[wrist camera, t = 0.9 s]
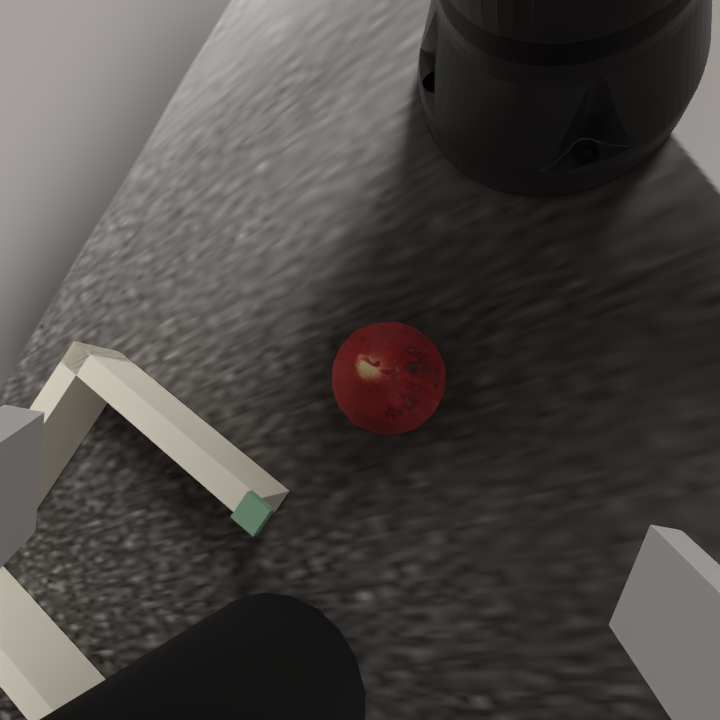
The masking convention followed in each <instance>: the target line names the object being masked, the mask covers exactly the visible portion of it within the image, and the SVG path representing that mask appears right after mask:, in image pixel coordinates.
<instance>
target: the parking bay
mask: <svg viewBox="0 0 720 720" xmlns="http://www.w3.org/2000/svg"><path fill="white" fill-rule="evenodd" d="M107 403H109V404H110V405H111V406H112V407H113V408H114V409H116V410H117V411H118V412H119V413H120V414H121V415H123V416H124V417H125V418H126V419H127V420H128V421H129V422H131V423H132V424H133V425H134V426H135V427H136V428H137V429H139V430H140V431H141V432H142V433H143V434H144V435H146V436H147V437H148V438H149V439H150V440H151V441H152V442H154V443H155V444H156V445H157V446H158V447H159V448H160V449H162V450H163V451H164V452H165V453H166V454H167V455H168V456H170V457H171V458H172V459H173V460H174V461H175V462H177V463H178V464H179V465H180V466H181V467H182V468H183V469H185V470H186V471H187V472H188V473H189V474H190V475H191V476H193V477H194V478H195V479H196V480H197V481H198V482H200V483H201V484H202V485H203V486H204V487H205V488H206V489H208V490H209V491H210V492H211V493H212V494H213V495H214V496H216V497H217V498H218V499H219V500H220V501H221V502H223V503H224V504H225V505H226V506H227V507H228V508H229V509H231V510H232V511H233V514H232V515H231V518H232V519H233V520H234V521H235V522H237V523H238V524H239V525H240V526H241V527H242V528H243V529H245V530H246V531H247V532H248V533H249V534H250V535H251V536H256V535H258V534H259V532H260V531H261V529H262V528H263V526H264V525H265V523H266V522H267V521H268V519H269V518H270V516H271V515H272V513H273V512H276V510H277V509H278V507H279V506H280V504H281V503H282V501H283V500H284V498H285V497H286V495H287V494H288V493H289V490H288V489H286V488H285V487H284V486H283V485H282V484H280V483H279V482H278V481H277V480H275V479H274V478H273V477H272V476H271V475H269V474H268V473H267V472H266V471H264V470H263V469H262V468H261V467H260V466H258V465H257V464H256V463H255V462H253V461H252V460H251V459H250V458H249V457H247V456H246V455H245V454H244V453H242V452H241V451H240V450H239V449H238V448H236V447H235V446H234V445H233V444H231V443H230V442H229V441H228V440H227V439H225V438H224V437H223V436H222V435H221V434H219V433H218V432H217V431H216V430H214V429H213V428H212V427H211V426H210V425H208V424H207V423H206V422H205V421H203V420H202V419H201V418H200V417H199V416H197V415H196V414H195V413H194V412H192V411H191V410H190V409H189V408H188V407H186V406H185V405H184V404H183V403H181V402H180V401H179V400H178V399H177V398H175V397H174V396H173V395H172V394H170V393H169V392H168V391H167V390H166V389H164V388H163V387H162V386H161V385H159V384H158V383H157V382H156V381H155V380H153V379H152V378H151V377H150V376H148V375H147V374H146V373H145V372H144V371H142V370H141V369H140V368H139V367H137V366H136V365H135V364H134V363H133V362H131V361H130V360H129V359H128V358H126V357H125V356H124V355H123V354H122V353H120V352H119V351H115V350H110V349H106V348H101V347H97V346H93V345H88V344H84V343H80V342H75V341H74V342H73V343H72V345H71V347H70V348H69V350H68V351H67V353H66V354H65V356H64V357H63V359H62V360H61V362H60V363H59V365H58V366H57V368H56V369H55V371H54V372H53V374H52V375H51V377H50V378H49V380H48V381H47V383H46V384H45V386H44V388H43V389H42V391H41V392H40V394H39V395H38V397H37V398H36V400H35V401H34V403H33V404H32V406H31V407H30V410H35V411H41V412H45V414H44V426H43V439H42V452H41V465H40V478H39V490H38V503H37V509H38V507H39V506H40V504H41V503H42V501H43V500H44V498H45V497H46V495H47V494H48V492H49V491H50V489H51V488H52V486H53V485H54V483H55V482H56V480H57V479H58V477H59V476H60V474H61V473H62V471H63V470H64V468H65V467H66V465H67V464H68V462H69V461H70V459H71V458H72V456H73V455H74V453H75V452H76V450H77V449H78V447H79V445H80V444H81V442H82V441H83V439H84V438H85V436H86V435H87V433H88V432H89V430H90V429H91V427H92V426H93V424H94V423H95V421H96V420H97V418H98V417H99V415H100V414H101V412H102V411H103V409H104V408H105V406H106V405H107ZM104 680H105V678H104V677H103V676H102V675H101V674H100V673H99V671H98V670H97V669H96V668H95V667H94V666H93V665H92V664H91V663H90V662H89V660H88V659H87V658H86V657H85V656H84V655H83V654H82V653H81V652H80V650H79V649H78V648H77V647H76V646H75V645H74V644H73V643H72V642H71V641H70V639H69V638H68V637H67V636H66V635H65V634H64V633H63V632H62V631H61V629H60V628H59V627H58V626H57V625H56V624H55V623H54V622H53V621H52V619H51V618H50V617H49V616H48V615H47V614H46V613H45V612H44V611H43V610H42V608H41V607H40V606H39V605H38V604H37V603H36V602H35V601H34V600H33V598H32V597H31V596H30V595H29V594H28V593H27V592H26V591H25V590H24V589H23V587H22V586H21V585H20V584H19V583H18V582H17V581H16V580H15V579H14V577H13V576H12V575H11V574H10V573H9V572H8V571H7V570H6V569H5V567H4V566H2V567H1V568H0V687H1V688H2V689H3V690H4V691H5V693H6V694H7V695H8V696H9V698H10V699H11V700H12V701H13V702H14V704H15V705H16V706H17V707H18V709H19V710H20V711H21V712H22V713H23V715H24V716H25V717H26V718H27V720H40V719H41V718H43V717H45V716H46V715H48V714H49V713H51V712H53V711H54V710H56V709H58V708H59V707H61V706H63V705H64V704H66V703H68V702H69V701H71V700H72V699H74V698H76V697H77V696H79V695H81V694H82V693H84V692H86V691H87V690H89V689H91V688H92V687H94V686H95V685H97V684H99V683H100V682H102V681H104Z"/></svg>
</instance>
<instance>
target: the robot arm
mask: <svg viewBox="0 0 720 720" xmlns="http://www.w3.org/2000/svg"><path fill="white" fill-rule="evenodd" d="M711 21H712V0H431V4H430V8H429V13H428V17H427V21H426V26H425V30H424V34H423V38H422V43H421V48H420V54H419V65H418V78H419V89H420V95H421V99H422V104H423V108H424V113H425V117H426V120H427V124H428V126H429V129H430V131H431V134H432V136H433V138H434V140H435V141H436V143H437V145H438V146H439V148H440V149H441V150H442V152H443V153H444V154H445V156H446V157H447V158H448V159H449V160H450V161H451V162H452V163H453V164H454V165H455V166H456V167H457V168H459V169H460V170H461V171H462V172H464V173H465V174H467V175H468V176H470V177H471V178H473V179H475V180H476V181H478V182H480V183H482V184H485V185H487V186H489V187H492V188H495V189H498V190H501V191H504V192H509V193H513V194H519V195H528V196H555V195H563V194H570V193H575V192H579V191H583V190H587V189H590V188H593V187H596V186H599V185H601V184H604V183H606V182H609V181H611V180H613V179H615V178H617V177H619V176H621V175H622V174H624V173H626V172H628V171H629V170H631V169H632V168H634V167H635V166H637V165H638V164H639V163H641V162H642V161H643V160H645V159H646V158H647V157H648V156H649V155H651V154H652V153H653V152H654V151H655V150H656V149H657V148H658V147H659V146H660V145H661V144H662V143H663V142H664V141H665V139H666V138H667V137H668V136H669V135H670V133H671V132H672V131H673V129H674V128H675V127H676V125H677V123H678V121H679V120H680V119H681V117H682V115H683V113H684V112H685V110H686V108H687V106H688V104H689V102H690V101H691V99H692V97H693V95H694V93H695V91H696V90H697V88H698V85H699V83H700V80H701V78H702V75H703V72H704V69H705V66H706V63H707V58H708V54H709V49H710V42H711ZM44 414H45V412H41V411H35V410H30V409H24V408H19V407H14V406H8V405H3V406H2V407H0V568H1V567H2V566H3V565H4V564H5V563H6V562H7V561H8V560H9V559H10V558H11V557H12V556H13V555H14V554H15V553H16V551H17V550H18V549H19V548H20V547H21V546H22V545H23V544H24V543H25V542H26V541H27V540H28V539H29V538H30V537H31V536H32V535H33V533H34V532H35V529H36V516H37V503H38V490H39V478H40V465H41V452H42V439H43V426H44ZM609 626H610V628H611V629H612V631H613V632H614V634H615V635H616V637H617V638H618V640H619V641H620V643H621V644H622V646H623V647H624V649H625V650H626V652H627V653H628V655H629V656H630V658H631V659H632V661H633V662H634V664H635V665H636V667H637V668H638V670H639V671H640V673H641V674H642V676H643V677H644V679H645V680H646V682H647V683H648V685H649V686H650V688H651V689H652V691H653V692H654V694H655V695H656V697H657V698H658V700H659V701H660V703H661V704H662V706H663V708H664V709H665V711H666V712H667V714H668V715H669V717H670V718H671V720H720V565H719V564H718V563H717V562H716V561H715V560H713V559H712V558H711V557H710V556H709V555H708V554H707V553H706V552H705V551H704V550H703V549H701V548H700V547H699V546H698V545H697V544H696V543H695V542H694V541H693V540H692V539H691V538H689V537H688V536H687V535H686V534H685V533H684V532H683V531H682V530H677V529H672V528H666V527H661V526H655V525H650V527H649V529H648V532H647V534H646V536H645V539H644V541H643V544H642V546H641V548H640V551H639V553H638V556H637V558H636V560H635V563H634V565H633V568H632V570H631V572H630V575H629V577H628V580H627V582H626V585H625V587H624V589H623V592H622V594H621V597H620V599H619V601H618V604H617V606H616V609H615V611H614V613H613V616H612V618H611V621H610V623H609Z"/></svg>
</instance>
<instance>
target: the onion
mask: <svg viewBox="0 0 720 720" xmlns="http://www.w3.org/2000/svg"><path fill="white" fill-rule="evenodd" d="M445 376H446V367H445V365H444V362H443V360H442V358H441V355H440V353H439V351H438V348H437V346H436V345H435V344H434V343H433V342H431V341H430V340H429V339H428V338H427V337H426V336H424V335H423V334H422V333H421V332H420V331H419V330H417V329H416V328H413V327H410V326H408V325H405V324H402V323H399V322H381V323H373V324H371V325H368V326H366V327H363V328H360V329H358V330H355V331H354V332H353V333H352V334H351V335H350V336H349V337H348V339H347V340H346V341H345V342H344V343H343V344H342V345H341V346H340V348H339V351H338V353H337V356H336V358H335V360H334V363H333V369H332V387H333V391H334V394H335V397H336V400H337V403H338V406H339V408H340V409H341V410H342V411H343V412H344V414H345V415H346V416H347V417H348V418H349V420H350V421H351V422H352V423H353V424H355V425H357V426H359V427H362V428H364V429H366V430H368V431H370V432H372V433H374V434H387V435H397V434H400V433H404V432H407V431H411V430H414V429H416V428H417V427H419V426H420V425H421V424H422V423H424V422H425V421H426V420H427V419H428V418H430V417H431V416H432V415H433V414H434V412H435V410H436V408H437V406H438V405H439V403H440V401H441V399H442V397H443V395H444V393H445Z"/></svg>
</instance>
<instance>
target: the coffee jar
mask: <svg viewBox="0 0 720 720" xmlns="http://www.w3.org/2000/svg"><path fill="white" fill-rule="evenodd" d="M40 720H365V690H364V686H363V683H362V679H361V675H360V671H359V668H358V664H357V660H356V657H355V655H354V654H353V652H352V650H351V649H350V647H349V645H348V643H347V642H346V640H345V638H344V637H343V635H342V633H341V632H340V630H339V629H338V628H337V627H336V626H335V625H334V624H333V623H332V622H331V621H330V620H329V619H327V618H326V617H325V616H324V615H323V614H322V613H321V612H320V611H319V610H318V609H316V608H314V607H312V606H310V605H308V604H306V603H304V602H302V601H300V600H297V599H295V598H293V597H291V596H286V595H276V594H266V593H260V594H256V595H253V596H249V597H245V598H241V599H238V600H235V601H233V602H232V603H230V604H228V605H227V606H225V607H223V608H222V609H220V610H218V611H217V612H215V613H214V614H212V615H210V616H209V617H207V618H205V619H204V620H202V621H200V622H199V623H197V624H196V625H194V626H192V627H191V628H189V629H187V630H186V631H184V632H182V633H181V634H179V635H177V636H176V637H174V638H173V639H171V640H169V641H168V642H166V643H164V644H163V645H161V646H159V647H158V648H156V649H154V650H153V651H151V652H150V653H148V654H146V655H145V656H143V657H141V658H140V659H138V660H136V661H135V662H133V663H132V664H130V665H128V666H127V667H125V668H123V669H122V670H120V671H118V672H117V673H115V674H113V675H112V676H110V677H109V678H107V679H105V680H104V681H102V682H100V683H99V684H97V685H95V686H94V687H92V688H91V689H89V690H87V691H86V692H84V693H82V694H81V695H79V696H77V697H76V698H74V699H72V700H71V701H69V702H68V703H66V704H64V705H63V706H61V707H59V708H58V709H56V710H54V711H53V712H51V713H49V714H48V715H46V716H45V717H43V718H41V719H40Z"/></svg>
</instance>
